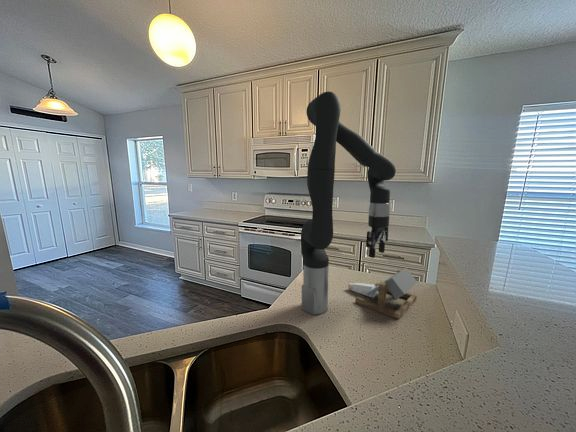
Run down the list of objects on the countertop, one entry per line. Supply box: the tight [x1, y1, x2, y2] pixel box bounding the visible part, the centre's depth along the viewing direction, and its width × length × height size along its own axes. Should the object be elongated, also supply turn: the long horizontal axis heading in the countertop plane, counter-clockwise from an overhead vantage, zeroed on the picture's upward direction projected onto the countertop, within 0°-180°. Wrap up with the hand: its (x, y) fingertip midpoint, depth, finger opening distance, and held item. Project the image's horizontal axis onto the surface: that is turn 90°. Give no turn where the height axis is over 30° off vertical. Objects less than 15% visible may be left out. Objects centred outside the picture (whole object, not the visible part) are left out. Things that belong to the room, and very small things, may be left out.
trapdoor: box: [367, 267, 418, 300], centre depth 94 cm, size 14×13×7 cm
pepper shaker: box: [347, 282, 377, 299], centre depth 103 cm, size 5×5×11 cm
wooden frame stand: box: [355, 268, 418, 320], centre depth 96 cm, size 19×16×11 cm
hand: (376, 254), depth 97 cm, fingers open, 8 cm apart
